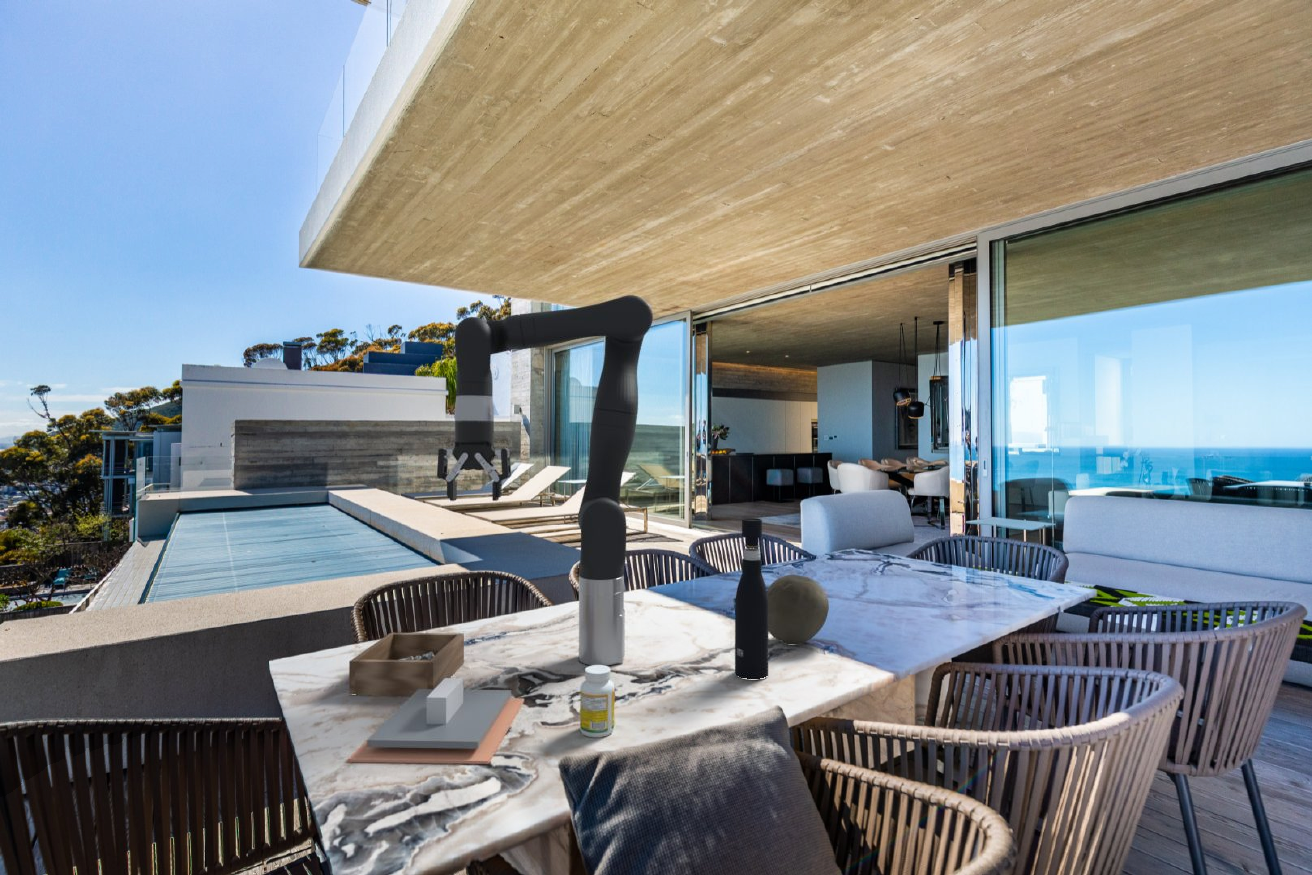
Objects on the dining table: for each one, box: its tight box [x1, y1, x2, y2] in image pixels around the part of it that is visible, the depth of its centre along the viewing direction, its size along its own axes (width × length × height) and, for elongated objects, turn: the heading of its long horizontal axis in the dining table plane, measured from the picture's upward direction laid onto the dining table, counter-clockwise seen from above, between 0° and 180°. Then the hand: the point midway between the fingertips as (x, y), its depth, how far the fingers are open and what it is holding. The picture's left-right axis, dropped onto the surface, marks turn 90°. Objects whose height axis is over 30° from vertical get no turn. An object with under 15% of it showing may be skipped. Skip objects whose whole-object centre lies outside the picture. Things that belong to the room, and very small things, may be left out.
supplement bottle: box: [579, 665, 616, 738], centre depth 102 cm, size 5×5×10 cm
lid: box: [366, 677, 512, 749], centre depth 103 cm, size 16×19×6 cm
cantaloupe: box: [767, 574, 830, 645], centre depth 146 cm, size 14×14×15 cm
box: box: [348, 632, 465, 697], centre depth 124 cm, size 15×17×6 cm
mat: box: [347, 697, 525, 765], centre depth 103 cm, size 20×22×1 cm
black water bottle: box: [734, 517, 769, 679], centre depth 127 cm, size 6×6×30 cm
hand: (474, 500), depth 131 cm, fingers open, 8 cm apart
